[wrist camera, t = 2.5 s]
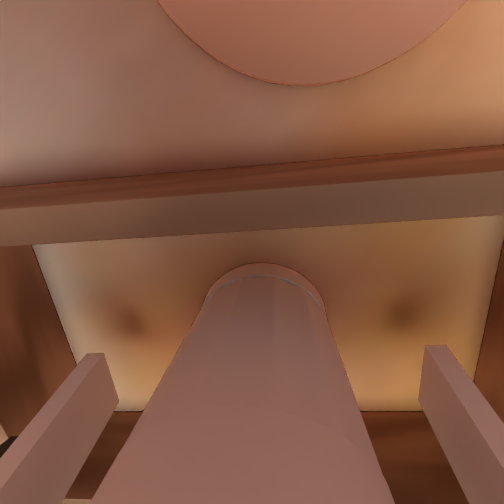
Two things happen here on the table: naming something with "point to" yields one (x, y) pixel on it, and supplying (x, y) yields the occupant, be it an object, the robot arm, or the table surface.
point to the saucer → (308, 34)
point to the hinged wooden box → (235, 220)
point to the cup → (251, 408)
